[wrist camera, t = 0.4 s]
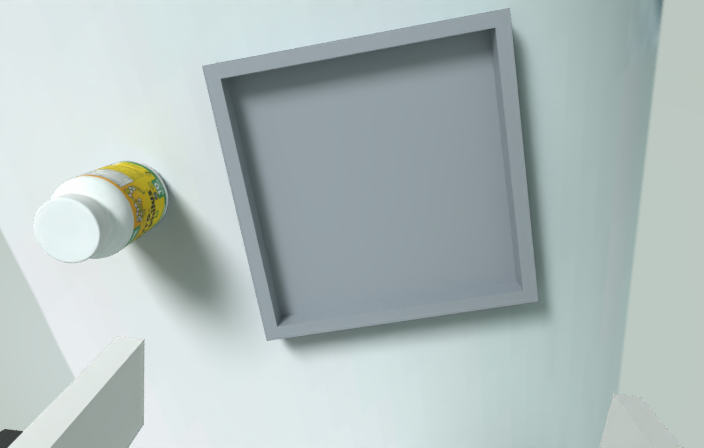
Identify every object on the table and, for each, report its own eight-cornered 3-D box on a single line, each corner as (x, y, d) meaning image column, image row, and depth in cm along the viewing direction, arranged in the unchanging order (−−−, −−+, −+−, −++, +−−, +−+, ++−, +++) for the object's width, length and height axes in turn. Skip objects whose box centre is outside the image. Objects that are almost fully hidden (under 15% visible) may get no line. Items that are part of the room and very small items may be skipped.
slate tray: (212, 66, 39) (202, 65, 36) (500, 12, 37) (509, 7, 35) (272, 326, 44) (266, 340, 41) (529, 288, 42) (538, 301, 40)
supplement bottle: (108, 149, 41) (29, 171, 31) (178, 173, 41) (121, 202, 32) (92, 216, 42) (13, 256, 33) (160, 239, 42) (100, 286, 33)
